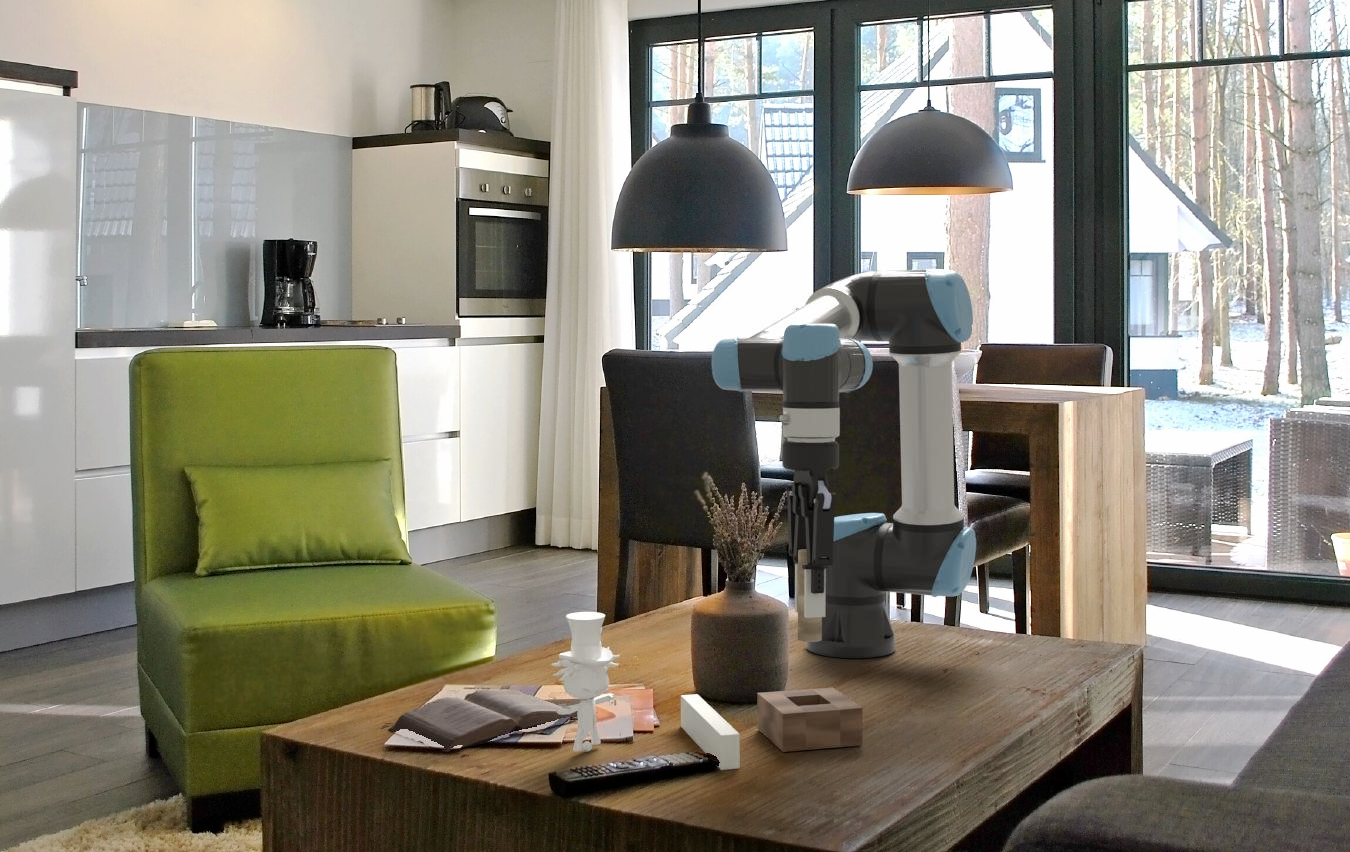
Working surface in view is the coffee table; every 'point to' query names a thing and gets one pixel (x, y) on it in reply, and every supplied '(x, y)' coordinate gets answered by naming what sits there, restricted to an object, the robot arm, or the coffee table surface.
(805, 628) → the dowel
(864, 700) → the coffee table surface
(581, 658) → the figurine
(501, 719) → the book
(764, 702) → the block
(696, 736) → the wall
